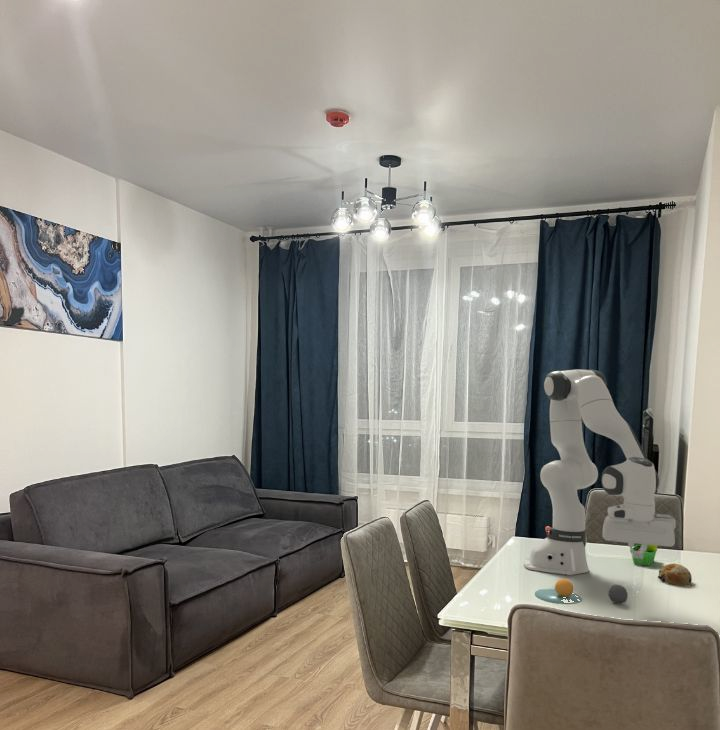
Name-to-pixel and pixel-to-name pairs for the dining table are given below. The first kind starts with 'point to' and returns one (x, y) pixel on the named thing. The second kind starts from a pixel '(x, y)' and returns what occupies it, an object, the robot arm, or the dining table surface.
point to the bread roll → (675, 575)
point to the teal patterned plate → (555, 596)
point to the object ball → (564, 588)
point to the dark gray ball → (618, 594)
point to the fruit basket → (645, 554)
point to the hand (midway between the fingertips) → (637, 558)
